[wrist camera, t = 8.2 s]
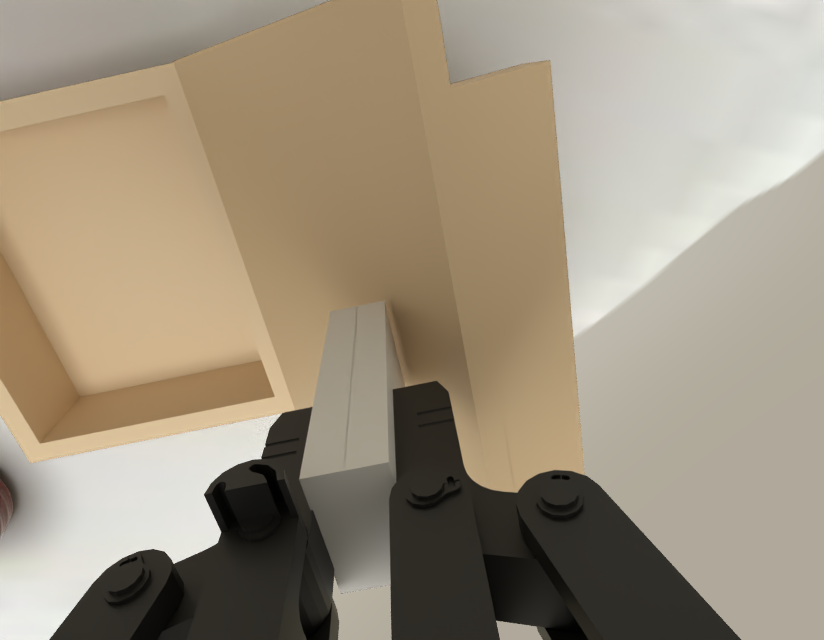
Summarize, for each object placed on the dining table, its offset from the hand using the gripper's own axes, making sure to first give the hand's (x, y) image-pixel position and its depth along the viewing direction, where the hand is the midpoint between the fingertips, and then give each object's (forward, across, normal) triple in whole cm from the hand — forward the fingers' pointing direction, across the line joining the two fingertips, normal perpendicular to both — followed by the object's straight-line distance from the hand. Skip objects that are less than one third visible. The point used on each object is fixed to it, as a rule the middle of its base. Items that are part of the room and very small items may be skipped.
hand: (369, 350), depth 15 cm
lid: (+3, -1, 0) cm, 4 cm away
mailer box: (+15, -12, 0) cm, 19 cm away
